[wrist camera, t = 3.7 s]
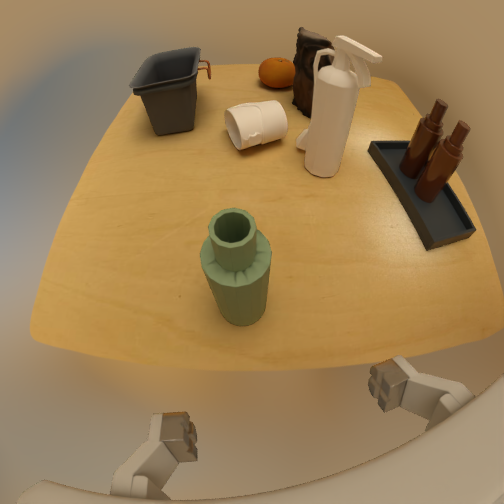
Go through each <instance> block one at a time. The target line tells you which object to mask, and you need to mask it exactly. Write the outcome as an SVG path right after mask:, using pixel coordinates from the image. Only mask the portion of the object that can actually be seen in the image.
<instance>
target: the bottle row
mask: <svg viewBox="0 0 504 504" xmlns="http://www.w3.org/2000/svg"><path fill="white" fill-rule="evenodd" d="M447 108H448V105H447V104H446V103H445V102H444V101H442V100H440V99H436V102H435V104H434V107H433V109H432V111H431V113H430V114H427V115H426V117H425V118H421V119H420V121H419V123H418V125H417V127H416V130H415V132H414V134H413V136H412V139H411V141H410V143H409V145H408V147H407V149H406V151H405V154H404V156H403V158H402V160H401V162H400V164H399V168H400V170H401V172H402V173H403V174H404V175H405V176H407V177H409V178H411V179H418V178H419V179H418V180H417V182H416V184H415V185H414V191H415V193H416V195H417V196H418V197H419V198H420V199H421V200H423V201H424V202H427V203H432V202H434V200H435V199H436V198H437V196H438V195H439V193H440V192H441V190H442V189H443V188H444V186H445V185H446V183H447V182H448V180H449V179H450V177H451V176H452V174H453V173H454V171H455V170H456V168H457V167H458V165H459V163H460V162H461V160H462V159H463V154H462V151H463V146H462V144H463V142H464V140H465V139H466V137H467V135H468V133H469V132H470V127H469V126H468V125H467V124H466V123H465V122H463V121H460V120H459V121H458V123H457V125H456V127H455V129H454V131H453V133H452V135H451V136H447V137H446V138H445V139H441V137H442V135H443V130H442V127H443V123H442V119H443V117H444V115H445V113H446V110H447ZM440 139H441V140H440Z"/></svg>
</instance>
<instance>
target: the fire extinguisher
mask: <svg viewBox="0 0 504 504" xmlns="http://www.w3.org/2000/svg"><path fill="white" fill-rule="evenodd" d="M332 46H335V47H337V48H338V49H337V51H334V50H332V49H329V48H327V49H323V50H319V51H317V53H316V57H315V60H314V64H313V68H314V91H313V104H312V115H311V122H310V125H309V127H308V129H304V131H303V132H302V133H301V134H300V135H299V137H298V138H297V139H296V143H297V148H300V149H302V150H305V151H306V154H305V160H304V162H305V168H306V169H307V170H308V171H309V172H310V173H311V174H314V175H317V176H320V177H331V176H334V175H335V174H336V173H337V172H338V170H339V166H340V163H341V159H342V156H343V152H344V148H345V145H346V141H347V137H348V134H349V130H350V126H351V122H352V118H353V114H354V110H355V106H356V102H357V98H358V93H359V89H360V88H364V87H369V86H371V76H370V73H369V70H368V67H367V65H366V62H365V61H364V60H363V59H366V60H368V61H370V62H372V63H381V62H382V58H383V57H382V56H381V55H379V54H377V53H376V52H374V51H372V50H370V49H369V48H367V47H365V46H363V45H361V44H360V43H358V42H356V41H354V40H352V39H350V38H348V37H346V36H335V39H334V41H333V43H332ZM327 54H329V55H332V56H334V60H333V63H332V65H330V66H325V67H322V68H321V69H320V71H319V72H318V64H319V60H320V56H321V55H327ZM350 60H351V61H352V64H353V66H354V69H355V71H356V74H357V75H356V74H355V73H354V72H353V71H351V70H350Z"/></svg>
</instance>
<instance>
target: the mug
mask: <svg viewBox="0 0 504 504" xmlns="http://www.w3.org/2000/svg"><path fill="white" fill-rule="evenodd" d="M225 123H226V127H227V130H228V133H229V136H230V138H231V140H232V142H233V144H234V145H235V147H236V148H237V149H238V150H242V149H245V148H248V147H250V146H254V145H257V144H260V143H261V144H265V143H268V142H271V141H274V140H278V139H281V138H284V137H285V136H286V134H287V130H288V123H287V118H286V114H285V112H284V109H283V107H282V106H281V104H280V103H279V102H278V101H276V100H272V101H265V102H258V103H244V104H240V105H237V106H234V107H231V108H228V109H227V110H225Z"/></svg>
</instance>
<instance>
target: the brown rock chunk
mask: <svg viewBox="0 0 504 504" xmlns="http://www.w3.org/2000/svg"><path fill="white" fill-rule="evenodd" d="M297 37H298V39H297V43H296V47H297V50H296V51H297V53H296V55H295V57H294V61H293V64H294V66H295V76H294V80H293V92H294V99H293V101H292V104H293V105H295V106H297V107H298V108H297V109H298V110H300V111H301V112H302V113H303V115H305V116H307V117H308V118H311V115H312V104H313V91H314V68H313V64H314V60H315V57H316V53H317V51H319V50H323V49H327V48H329V49H332V50H334V47H333V46H332V43H331V42H330V41H329V40H328V39H327V38H325V37H323V36H321V35H319V34H317V33H314V32H310V31H308V30H305V29H304V28H303V27H300V28H299V33H298V34H297ZM334 51H335V50H334ZM333 60H334V56H332V55H329V54H327V55H321V56H320V60H319V64H318V72H319V71H320V69H321V68H322V67H325V66H330V65H332V63H333Z"/></svg>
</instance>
